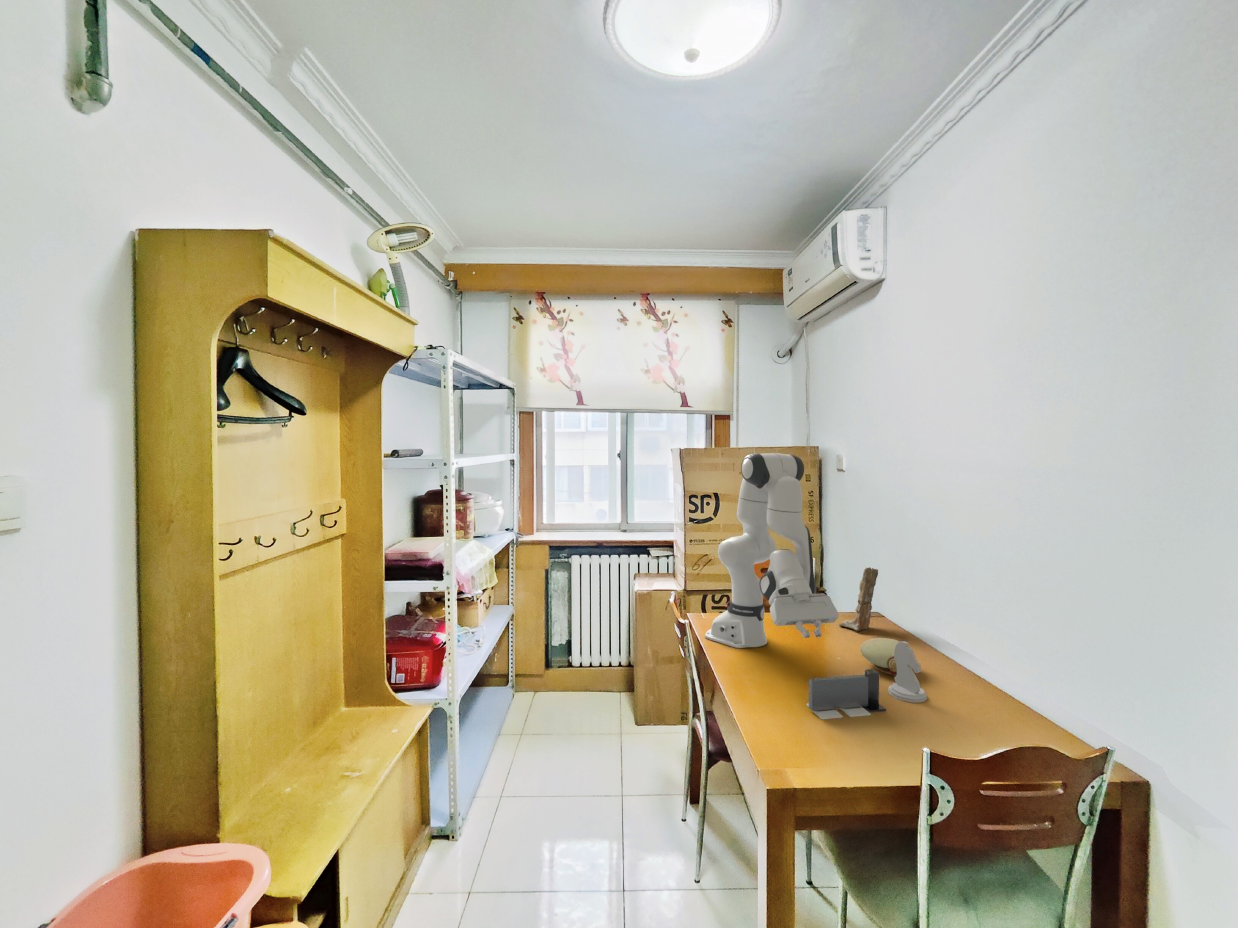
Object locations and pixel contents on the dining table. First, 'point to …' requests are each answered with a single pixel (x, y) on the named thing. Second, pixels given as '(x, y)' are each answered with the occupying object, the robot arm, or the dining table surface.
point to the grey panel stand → (844, 691)
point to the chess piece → (906, 675)
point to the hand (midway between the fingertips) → (813, 636)
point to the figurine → (863, 601)
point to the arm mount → (874, 709)
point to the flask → (881, 653)
